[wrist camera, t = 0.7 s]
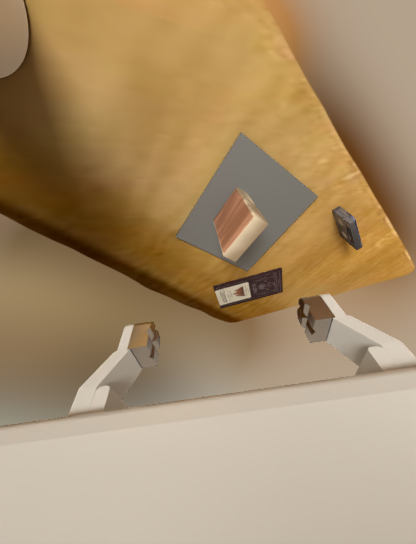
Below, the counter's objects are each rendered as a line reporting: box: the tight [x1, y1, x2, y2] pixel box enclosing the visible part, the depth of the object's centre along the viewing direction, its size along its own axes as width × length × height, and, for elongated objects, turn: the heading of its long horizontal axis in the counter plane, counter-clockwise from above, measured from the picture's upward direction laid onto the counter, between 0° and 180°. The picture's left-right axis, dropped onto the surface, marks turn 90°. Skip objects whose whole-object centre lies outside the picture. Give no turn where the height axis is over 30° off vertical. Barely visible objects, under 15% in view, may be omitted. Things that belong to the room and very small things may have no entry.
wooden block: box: [213, 187, 268, 262], centre depth 38 cm, size 3×8×12 cm, turn 147°
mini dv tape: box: [332, 206, 362, 250], centre depth 46 cm, size 8×2×6 cm, turn 36°
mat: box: [176, 133, 318, 271], centre depth 44 cm, size 20×22×1 cm
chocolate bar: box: [213, 268, 283, 308], centre depth 59 cm, size 9×1×18 cm
